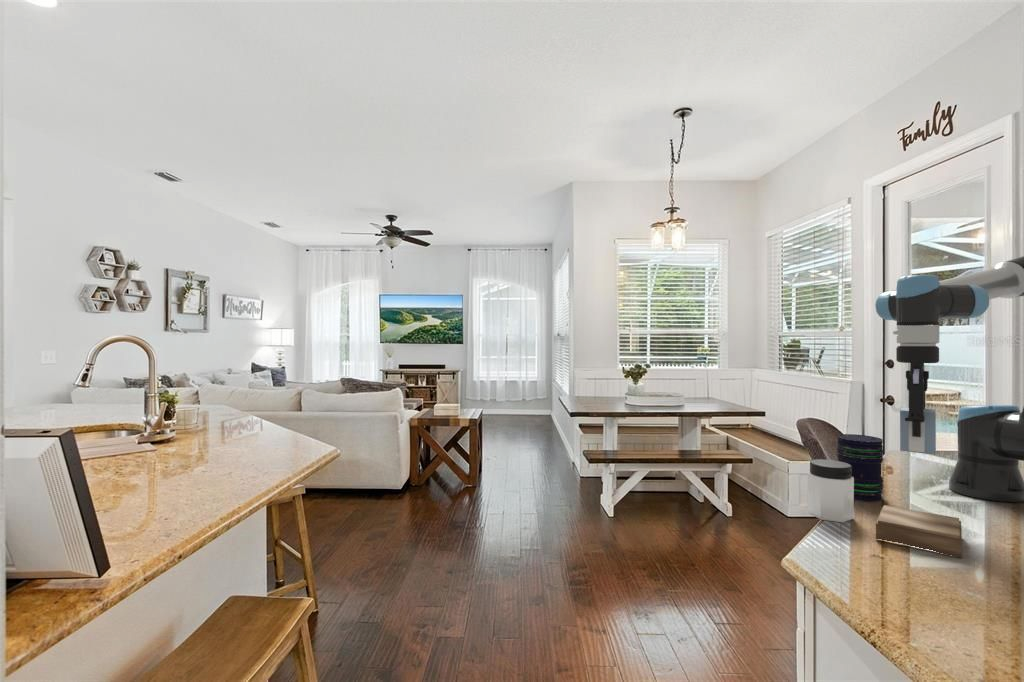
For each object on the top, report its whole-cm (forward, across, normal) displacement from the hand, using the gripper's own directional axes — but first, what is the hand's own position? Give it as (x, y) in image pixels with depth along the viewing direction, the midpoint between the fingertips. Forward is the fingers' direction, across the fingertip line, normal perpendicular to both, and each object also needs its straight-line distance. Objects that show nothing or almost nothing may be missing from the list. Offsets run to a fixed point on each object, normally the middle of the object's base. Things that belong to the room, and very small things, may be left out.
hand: (917, 448), depth 115 cm
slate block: (0, 0, 0) cm, 0 cm away
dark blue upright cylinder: (+16, -12, -12) cm, 23 cm away
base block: (+16, +14, +1) cm, 21 cm away
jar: (+16, +10, -15) cm, 24 cm away
